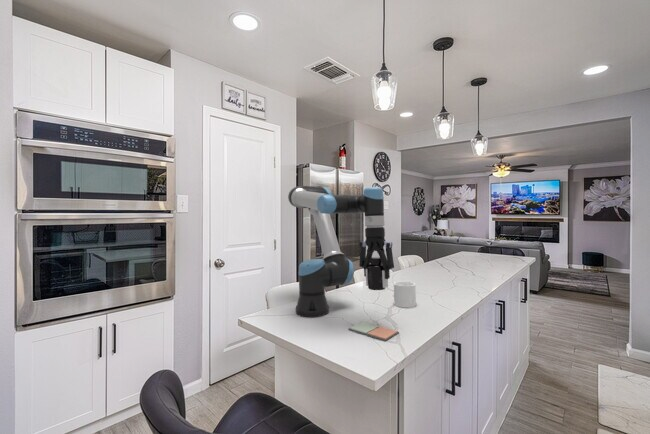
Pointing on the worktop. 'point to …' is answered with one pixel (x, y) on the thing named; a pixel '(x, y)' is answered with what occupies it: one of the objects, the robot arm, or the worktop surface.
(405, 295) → the mug
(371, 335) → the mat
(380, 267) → the supplement bottle
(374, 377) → the worktop surface
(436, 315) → the worktop surface
